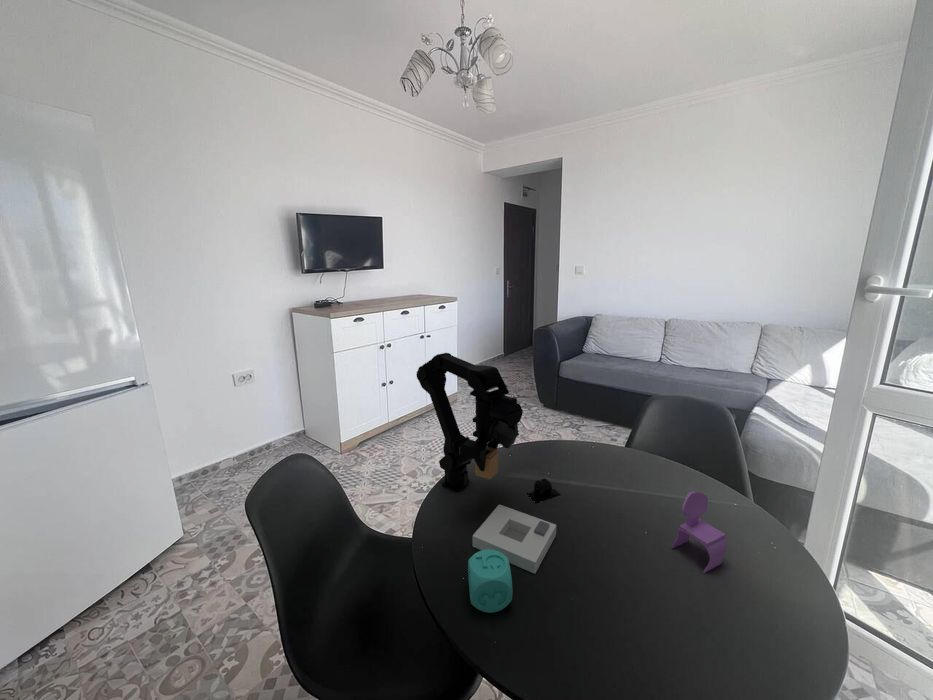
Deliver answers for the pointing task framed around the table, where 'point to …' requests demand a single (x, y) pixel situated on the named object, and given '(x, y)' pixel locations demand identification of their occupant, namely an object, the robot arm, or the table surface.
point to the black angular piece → (542, 491)
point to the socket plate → (516, 537)
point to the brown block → (489, 465)
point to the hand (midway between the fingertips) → (486, 466)
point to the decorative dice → (489, 581)
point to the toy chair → (701, 529)
